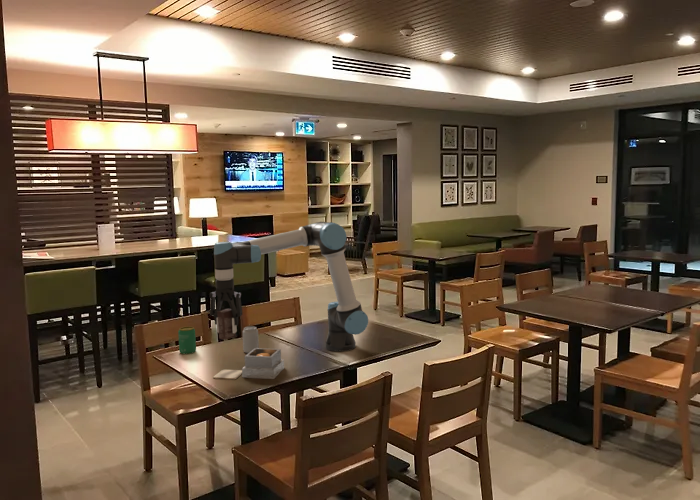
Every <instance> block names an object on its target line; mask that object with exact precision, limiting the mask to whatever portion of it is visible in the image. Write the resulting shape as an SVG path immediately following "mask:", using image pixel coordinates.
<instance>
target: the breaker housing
mask: <svg viewBox="0 0 700 500" xmlns="http://www.w3.org/2000/svg"><path fill="white" fill-rule="evenodd" d="M281 350H282V349H281V348H261V347H259V348H254V349H253V350H252V351H251V352H249V353H246V354H245V355H244V366H243V367H242V368H241V370H242V374H241V377H242V378H246V379H247V378H248V379H265V380H266V379H267V380H269V379H270V380H274V379H275V378H277V376H278V375H280V373H281V372H282V371H283V370H284V369H285V359H282V351H281ZM261 353H268V354H270V357H269V356H257V354H261Z"/></svg>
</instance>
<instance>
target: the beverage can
mask: <svg viewBox="0 0 700 500" xmlns="http://www.w3.org/2000/svg"><path fill="white" fill-rule="evenodd" d="M177 334H178V336H177V337H178V352H179V353H180V354H181V355H190V354H191V355H192V354H195V352H196V351H197V342H196V341H197V340H196V339H197V338H196V337H197V336H196V329H195V327H193V326H182V327H179V329H178V333H177Z"/></svg>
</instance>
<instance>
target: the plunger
mask: <svg viewBox="0 0 700 500" xmlns="http://www.w3.org/2000/svg"><path fill="white" fill-rule="evenodd" d="M257 356H269V357H270V354H268V353H261V354H257Z"/></svg>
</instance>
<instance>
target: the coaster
mask: <svg viewBox="0 0 700 500" xmlns="http://www.w3.org/2000/svg"><path fill="white" fill-rule="evenodd" d="M240 376H242V369H221V370H220V371H219V372H217V373H216V374H215V375H214V376H212V379H214V378H215V380H217V379H218V380H235V381H236V380H237V378H239V377H240Z"/></svg>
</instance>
